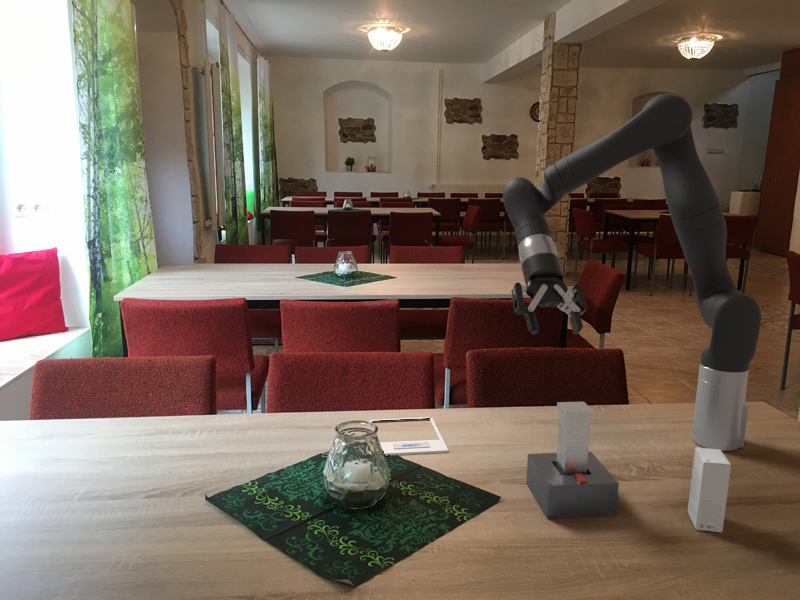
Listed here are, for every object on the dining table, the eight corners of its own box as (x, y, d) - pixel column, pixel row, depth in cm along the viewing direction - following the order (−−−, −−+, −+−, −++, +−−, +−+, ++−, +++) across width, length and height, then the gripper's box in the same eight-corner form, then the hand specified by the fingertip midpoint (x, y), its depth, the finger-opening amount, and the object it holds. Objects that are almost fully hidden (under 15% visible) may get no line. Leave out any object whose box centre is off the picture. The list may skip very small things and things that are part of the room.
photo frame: (377, 452, 129) (369, 418, 146) (377, 458, 129) (369, 423, 147) (448, 449, 131) (431, 416, 148) (448, 454, 131) (431, 420, 149)
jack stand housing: (588, 481, 119) (591, 449, 118) (615, 515, 108) (619, 480, 106) (526, 483, 118) (528, 451, 117) (546, 518, 107) (549, 482, 105)
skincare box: (723, 533, 103) (732, 465, 100) (695, 530, 104) (703, 462, 101) (713, 514, 109) (721, 448, 106) (686, 511, 109) (693, 446, 107)
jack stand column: (577, 490, 116) (583, 401, 112) (587, 503, 111) (594, 411, 107) (551, 491, 115) (557, 402, 112) (560, 505, 110) (566, 412, 107)
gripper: (512, 250, 125) (528, 322, 116) (579, 252, 127) (600, 322, 119) (500, 271, 131) (515, 341, 123) (565, 273, 134) (583, 341, 125)
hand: (556, 332), depth 121 cm, fingers open, 8 cm apart
